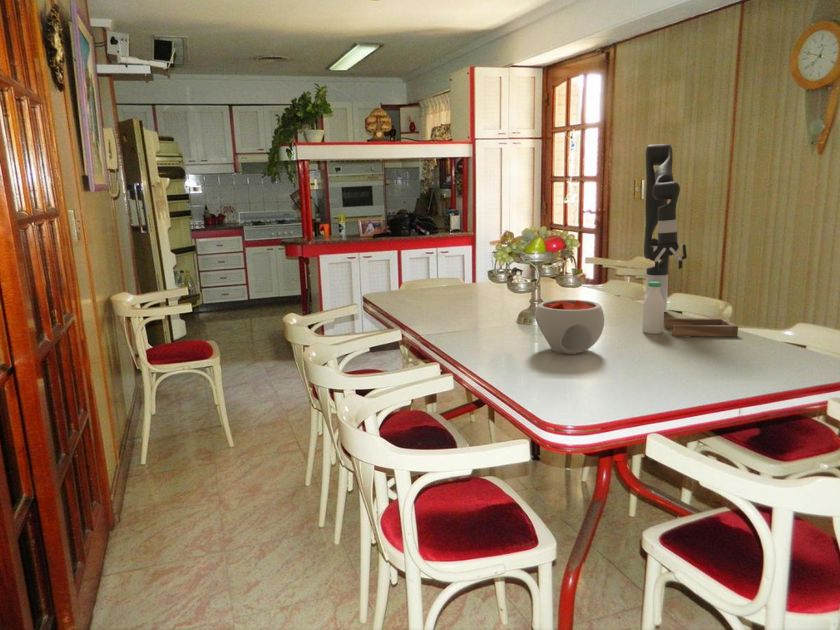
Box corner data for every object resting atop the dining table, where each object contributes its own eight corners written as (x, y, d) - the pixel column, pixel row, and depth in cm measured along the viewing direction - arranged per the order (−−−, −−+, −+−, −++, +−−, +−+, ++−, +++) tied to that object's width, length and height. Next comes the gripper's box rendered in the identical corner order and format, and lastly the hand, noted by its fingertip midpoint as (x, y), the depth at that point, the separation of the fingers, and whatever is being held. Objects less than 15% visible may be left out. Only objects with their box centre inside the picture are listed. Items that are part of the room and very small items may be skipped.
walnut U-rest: (664, 328, 254) (664, 318, 254) (724, 328, 251) (725, 318, 250) (673, 336, 240) (673, 326, 239) (737, 336, 236) (738, 326, 236)
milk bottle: (664, 334, 243) (667, 283, 240) (643, 334, 245) (645, 283, 241) (661, 330, 251) (663, 280, 247) (641, 330, 252) (642, 280, 248)
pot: (616, 349, 224) (617, 300, 220) (580, 364, 207) (581, 311, 204) (557, 340, 241) (558, 294, 237) (520, 352, 224) (520, 303, 220)
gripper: (686, 229, 262) (687, 267, 264) (649, 231, 267) (651, 269, 270) (685, 230, 255) (686, 270, 258) (648, 233, 261) (650, 271, 263)
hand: (668, 269), depth 264 cm, fingers open, 8 cm apart
